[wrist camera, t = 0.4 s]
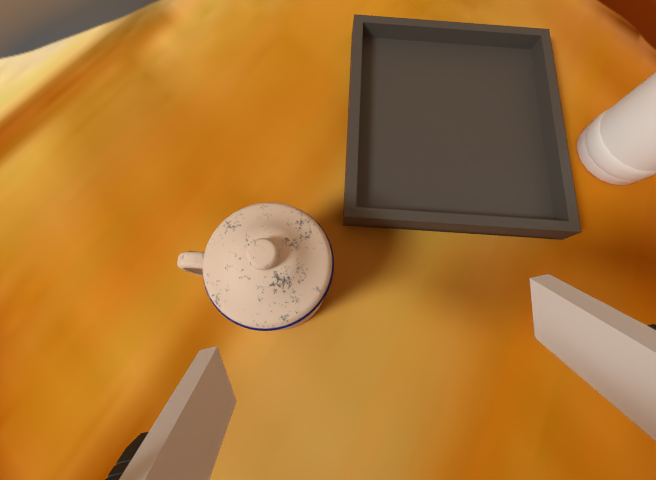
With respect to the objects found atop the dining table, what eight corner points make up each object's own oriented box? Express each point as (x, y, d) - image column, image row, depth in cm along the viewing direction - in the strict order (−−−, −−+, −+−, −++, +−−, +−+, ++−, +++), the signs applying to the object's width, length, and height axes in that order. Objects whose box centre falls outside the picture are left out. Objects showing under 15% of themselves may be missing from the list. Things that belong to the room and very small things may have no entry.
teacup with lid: (333, 241, 33) (342, 192, 22) (323, 338, 31) (328, 337, 19) (211, 228, 33) (157, 171, 22) (191, 323, 31) (119, 315, 19)
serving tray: (562, 239, 34) (581, 232, 32) (342, 225, 34) (344, 216, 31) (535, 47, 41) (549, 29, 38) (352, 33, 40) (354, 14, 38)
